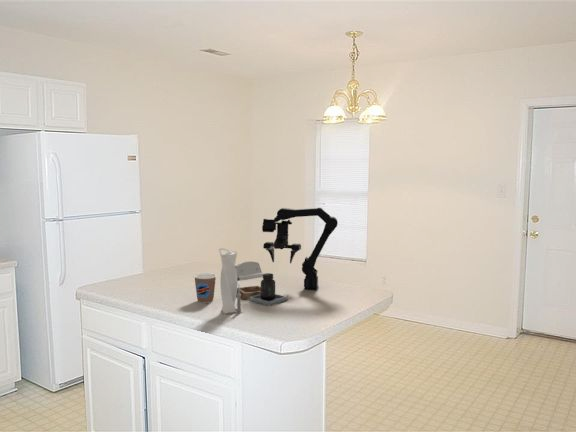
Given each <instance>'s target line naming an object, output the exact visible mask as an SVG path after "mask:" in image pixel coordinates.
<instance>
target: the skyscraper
mask: <svg viewBox="0 0 576 432" xmlns="http://www.w3.org/2000/svg"><path fill="white" fill-rule="evenodd" d="M221 250H222V251H225V252H224V253H222V252H221ZM218 251H219V255H220V259H221V271H220V277H219V279H220V295H221V296H220V297H221V301H222V307H221V310H220V311H221V312H222V313H223V314H224V315H226V316H228V315H237V314H242V313H243V312H242V303H241V301H242V300H241V299H242V298H241V297H240V296H241V294H240V288H239V287H238V285H239V284H238V279H237V272H236V268H235V266H236V260H237V255H238V253H237V251H235V250H229V249H226V248H223V247H222V248H219V249H218ZM237 288H238V294H237ZM236 299H237V301H236ZM235 304H236V305H235ZM236 306H237V308H236Z"/></svg>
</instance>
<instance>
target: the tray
mask: <svg viewBox="0 0 576 432" xmlns="http://www.w3.org/2000/svg"><path fill="white" fill-rule="evenodd" d="M286 301H288V297H287V296H286V295H282V294H277V293H275V300H272V301H266V300H261V294H260V295H256V296H252V297H250V299H249V302H250V303H255V304H258V305H263V306H267V307H271V306H274V305H278V304H281V303H284V302H286Z"/></svg>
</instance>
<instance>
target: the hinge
mask: <svg viewBox="0 0 576 432" xmlns="http://www.w3.org/2000/svg"><path fill="white" fill-rule="evenodd" d="M235 268H236V272H237V280H239V281H244V280H250V279H257V278H258V279H259V278H263V274H264V273H263V271H262V269H261V266H260V263H259V262H257V261H244V262H241V263H238V264H237V265H236V264H235Z"/></svg>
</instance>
